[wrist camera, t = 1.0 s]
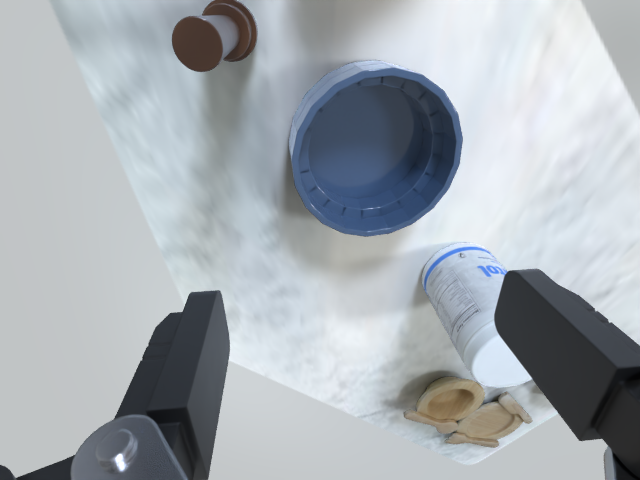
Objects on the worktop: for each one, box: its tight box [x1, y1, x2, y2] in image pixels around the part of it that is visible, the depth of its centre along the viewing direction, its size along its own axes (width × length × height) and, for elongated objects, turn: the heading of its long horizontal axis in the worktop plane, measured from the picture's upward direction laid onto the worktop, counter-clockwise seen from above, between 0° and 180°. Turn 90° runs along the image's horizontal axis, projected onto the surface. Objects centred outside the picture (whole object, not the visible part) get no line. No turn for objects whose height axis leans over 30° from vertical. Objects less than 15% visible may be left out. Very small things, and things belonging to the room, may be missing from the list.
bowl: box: [289, 60, 463, 237], centre depth 34 cm, size 15×15×6 cm
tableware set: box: [404, 377, 533, 448], centre depth 60 cm, size 35×29×4 cm
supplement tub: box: [422, 243, 532, 388], centre depth 41 cm, size 10×10×15 cm
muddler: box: [172, 0, 257, 72], centre depth 23 cm, size 4×4×17 cm
